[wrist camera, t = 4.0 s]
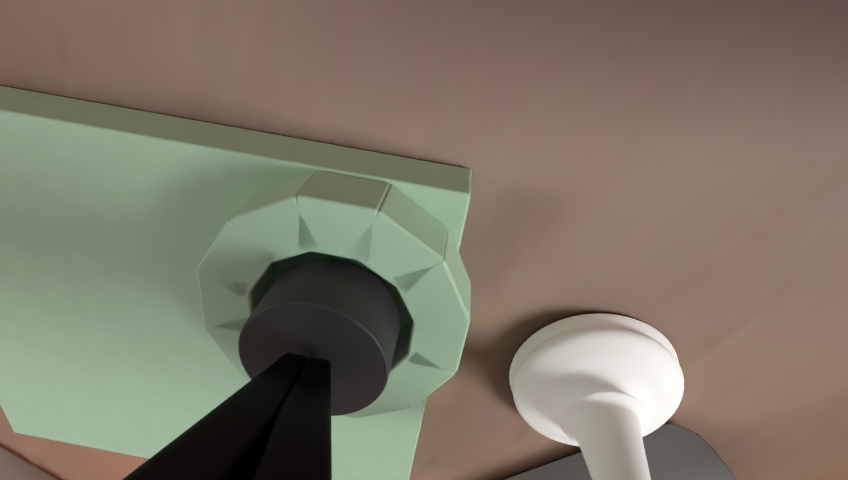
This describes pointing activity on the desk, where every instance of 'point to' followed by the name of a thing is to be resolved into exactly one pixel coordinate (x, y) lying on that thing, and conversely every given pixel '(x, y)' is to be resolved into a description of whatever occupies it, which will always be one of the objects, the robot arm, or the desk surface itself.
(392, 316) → the button
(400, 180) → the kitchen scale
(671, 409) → the chess piece
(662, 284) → the desk surface
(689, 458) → the gray half cylinder
